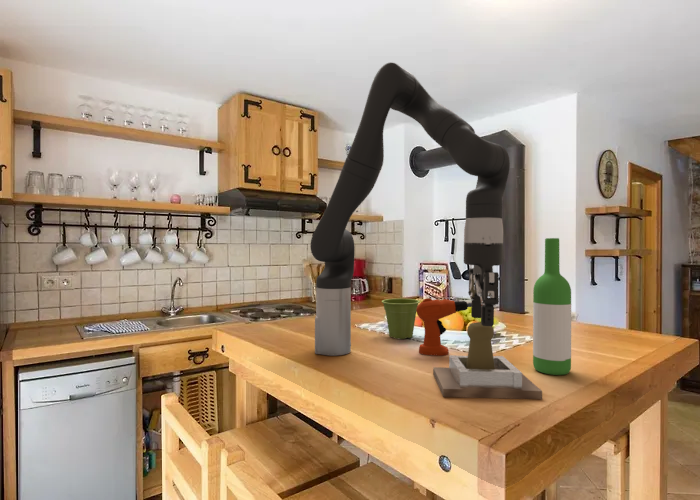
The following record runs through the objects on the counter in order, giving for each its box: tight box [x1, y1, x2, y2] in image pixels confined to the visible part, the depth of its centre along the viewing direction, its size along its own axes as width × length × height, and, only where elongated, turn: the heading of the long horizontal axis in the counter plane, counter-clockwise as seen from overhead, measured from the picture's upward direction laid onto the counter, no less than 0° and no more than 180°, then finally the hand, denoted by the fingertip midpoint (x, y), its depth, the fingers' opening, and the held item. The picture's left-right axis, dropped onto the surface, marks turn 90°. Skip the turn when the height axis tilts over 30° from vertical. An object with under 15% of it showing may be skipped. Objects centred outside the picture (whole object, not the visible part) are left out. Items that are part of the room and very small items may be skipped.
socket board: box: [432, 366, 543, 400], centre depth 84 cm, size 18×14×2 cm
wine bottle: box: [532, 237, 572, 376], centre depth 94 cm, size 8×8×30 cm
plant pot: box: [381, 298, 421, 340], centre depth 130 cm, size 12×12×11 cm
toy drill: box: [416, 297, 472, 356], centre depth 109 cm, size 5×19×15 cm, turn 82°
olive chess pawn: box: [466, 321, 495, 370], centre depth 85 cm, size 6×6×11 cm
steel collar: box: [448, 354, 523, 389], centre depth 84 cm, size 11×12×3 cm
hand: (481, 321), depth 84 cm, fingers open, 8 cm apart
